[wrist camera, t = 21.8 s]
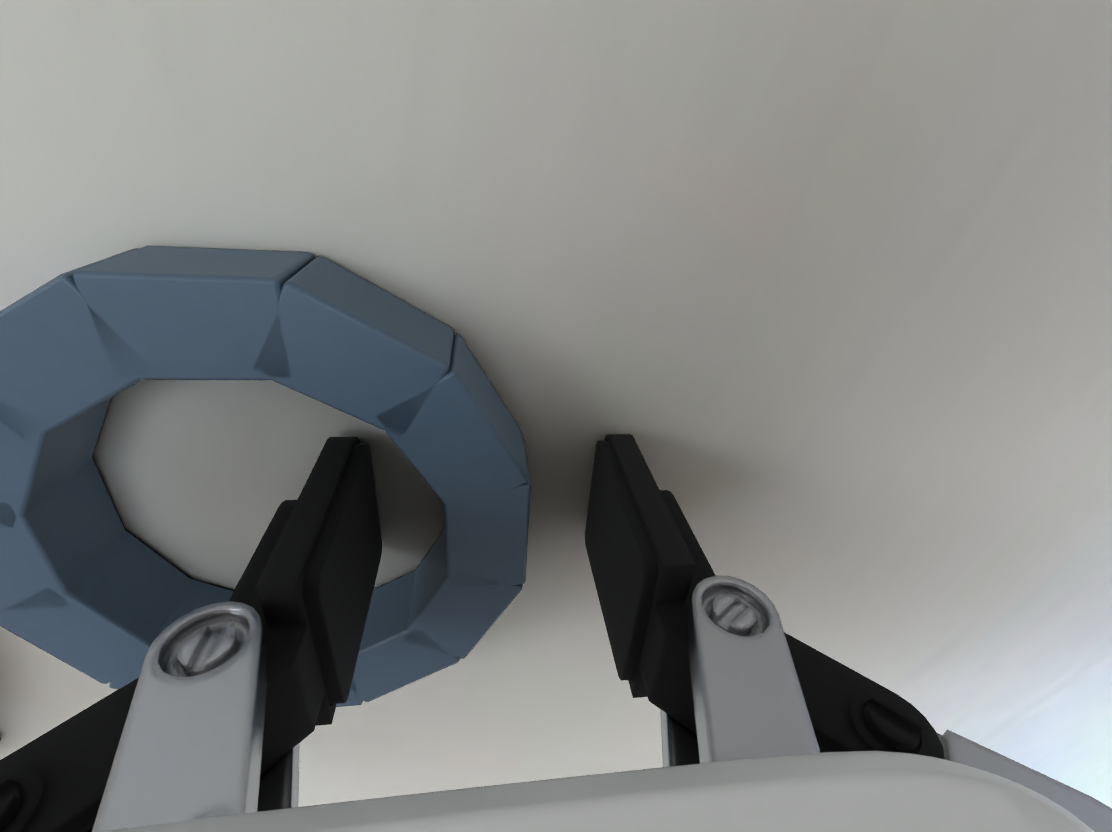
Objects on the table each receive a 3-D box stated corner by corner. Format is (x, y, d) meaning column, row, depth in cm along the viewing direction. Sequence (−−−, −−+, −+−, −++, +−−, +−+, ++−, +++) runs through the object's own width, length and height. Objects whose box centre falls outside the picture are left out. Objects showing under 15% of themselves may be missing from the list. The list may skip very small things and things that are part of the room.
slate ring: (531, 260, 9) (541, 287, 8) (515, 629, 14) (519, 692, 12) (-125, 233, 8) (-278, 260, 6) (110, 656, 13) (59, 730, 11)
